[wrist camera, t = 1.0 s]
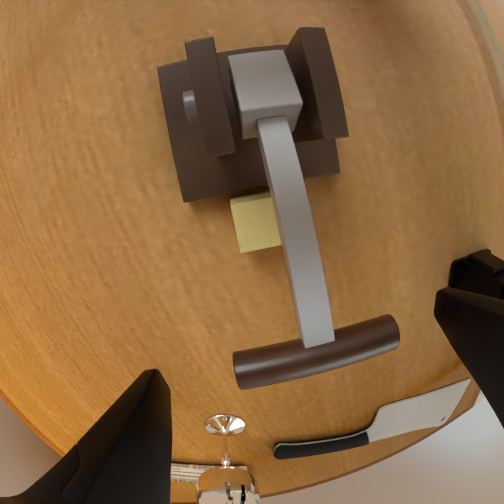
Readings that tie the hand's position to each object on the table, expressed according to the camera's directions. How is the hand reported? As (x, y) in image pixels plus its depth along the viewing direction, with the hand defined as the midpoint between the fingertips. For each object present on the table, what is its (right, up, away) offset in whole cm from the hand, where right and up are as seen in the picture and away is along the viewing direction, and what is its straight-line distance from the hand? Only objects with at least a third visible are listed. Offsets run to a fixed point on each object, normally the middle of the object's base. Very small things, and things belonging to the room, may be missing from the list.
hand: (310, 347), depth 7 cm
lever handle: (0, +4, +3) cm, 5 cm away
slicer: (-2, +11, +9) cm, 14 cm away
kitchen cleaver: (+17, -20, +22) cm, 34 cm away
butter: (-1, +5, +11) cm, 12 cm away
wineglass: (-5, -16, +19) cm, 25 cm away
